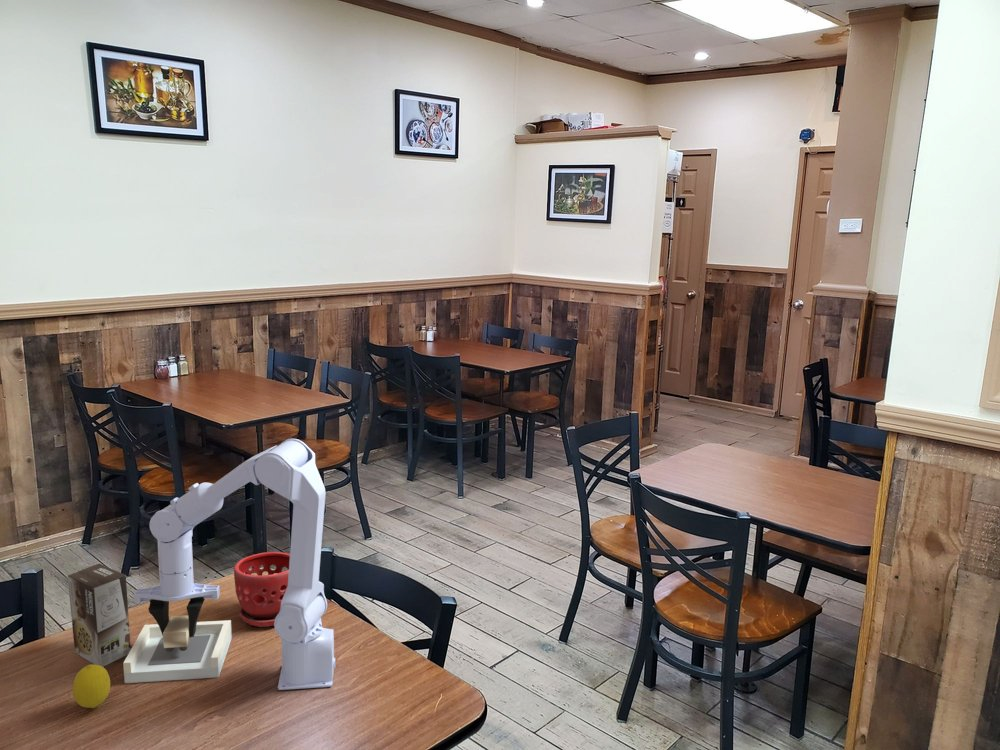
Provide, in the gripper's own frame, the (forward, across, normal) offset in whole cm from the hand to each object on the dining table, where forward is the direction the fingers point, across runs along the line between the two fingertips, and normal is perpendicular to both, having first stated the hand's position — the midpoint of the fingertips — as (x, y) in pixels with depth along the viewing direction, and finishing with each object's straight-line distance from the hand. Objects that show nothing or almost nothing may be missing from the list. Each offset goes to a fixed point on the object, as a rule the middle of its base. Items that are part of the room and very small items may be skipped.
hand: (179, 634), depth 139 cm
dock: (+5, 0, 0) cm, 5 cm away
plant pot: (+5, -14, -15) cm, 21 cm away
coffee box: (+5, +15, -4) cm, 16 cm away
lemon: (+5, +11, +13) cm, 18 cm away
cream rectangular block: (+2, 0, 0) cm, 2 cm away
